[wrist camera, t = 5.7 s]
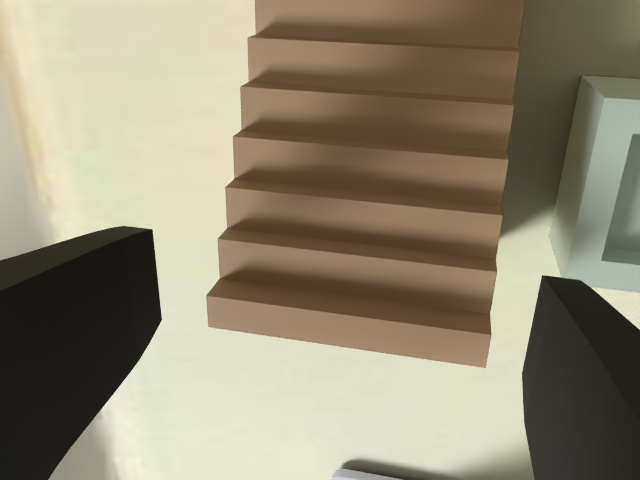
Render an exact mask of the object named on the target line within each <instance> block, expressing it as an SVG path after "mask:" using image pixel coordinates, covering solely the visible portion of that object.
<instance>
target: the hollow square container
mask: <svg viewBox="0 0 640 480" xmlns="http://www.w3.org/2000/svg"><path fill="white" fill-rule="evenodd" d="M549 238H550V241H551V245H552V248H553V251H554V255H555V258H556V261H557V265H558V268H559V271H560V275H561V278H569V279H577V280H581V281H582V282H584V283H585V284H587V285H588V286H589V287H596V288H604V289H613V290H621V291H629V292H638V293H640V79H635V78H618V77H601V76H583V75H582V76H581V81H580V86H579V91H578V96H577V101H576V106H575V110H574V115H573V120H572V125H571V130H570V135H569V140H568V145H567V150H566V155H565V160H564V165H563V169H562V174H561V179H560V184H559V189H558V194H557V199H556V204H555V209H554V214H553V219H552V224H551V229H550V233H549Z"/></svg>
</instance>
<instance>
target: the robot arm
mask: <svg viewBox="0 0 640 480" xmlns="http://www.w3.org/2000/svg"><path fill="white" fill-rule="evenodd" d="M161 320H162V318H161V308H160V298H159V289H158V279H157V270H156V260H155V250H154V241H153V231H152V229H144V228H136V227H127V226H121V227H114V228H109V229H105V230H101V231H97V232H93V233H89V234H86V235H83V236H79V237H76V238H73V239H69V240H66V241H63V242H60V243H56V244H53V245H50V246H47V247H44V248H41V249H38V250H34V251H31V252H28V253H25V254H21V255H19V256H15V257H11V258H8V259H4V260H1V261H0V480H48V479H49V478H50V476H51V474H52V473H53V471H54V470H55V468H56V467H57V465H58V464H59V463H60V461H61V460H62V459H63V457H64V456H65V454H66V453H67V452H68V450H69V449H70V448H71V446H72V445H73V444H74V442H75V441H76V440H77V439H78V437H79V436H80V435H81V434H82V432H83V431H84V430H85V429H86V427H87V426H88V425H89V424H90V422H91V421H92V420H93V419H94V417H95V416H96V415H97V414H98V412H99V411H100V410H101V409H102V407H103V406H104V405H105V404H106V402H107V401H108V400H109V399H110V397H111V396H112V395H113V394H114V392H115V391H116V390H117V388H118V387H119V386H120V385H121V383H122V382H123V381H124V379H125V378H126V377H127V376H128V374H129V373H130V372H131V370H132V369H133V368H134V366H135V365H136V364H137V362H138V361H139V360H140V358H141V356H142V355H143V353H144V351H145V349H146V348H147V346H148V344H149V343H150V341H151V339H152V337H153V335H154V333H155V332H156V330H157V328H158V326H159V324H160V322H161ZM522 381H523V406H524V423H525V429H526V435H527V440H528V445H529V451H530V456H531V462H532V467H533V472H534V478H535V480H640V330H639V329H638V328H637V327H636V326H634V325H633V324H632V323H631V322H630V321H629V320H627V319H626V318H625V317H624V316H623V315H622V314H620V313H619V312H618V311H617V310H616V309H615V308H614V307H613V306H611V305H610V304H609V303H608V302H607V301H606V300H605V299H603V298H602V297H601V296H600V295H599V294H598V293H596V292H595V291H594V290H593V289H592V288H590V287H589V286H588V285H587V284H585V283H584V282H582V281H581V280H577V279H569V278H560V277H552V276H543V275H542V279H541V284H540V289H539V293H538V298H537V303H536V308H535V313H534V318H533V323H532V328H531V333H530V337H529V342H528V347H527V352H526V357H525V362H524V367H523V372H522ZM331 480H402V479H397V478H392V477H386V476H381V475H376V474H370V473H365V472H359V471H354V470H349V469H339V470H336V471H335V472H334V473H333V475H332V479H331Z"/></svg>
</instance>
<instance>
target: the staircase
mask: <svg viewBox="0 0 640 480" xmlns="http://www.w3.org/2000/svg"><path fill="white" fill-rule="evenodd" d="M524 6H525V0H255V19H256V35H254V36H251V37H248V69H249V82H248V83H246V84H245V85H243V86H241V87H240V91H241V122H242V130H241V131H240V132H239V133H237V134H236V135H235V136H233V152H234V177H235V179H234V180H233V181H232V182H231V183H230V184H228V185H227V186H226V187H225V190H226V212H227V229H226V230H225V231H224V233H223V234H222V235H221V236H220V237H219V238H218V254H219V273H220V279H219V280H218V282H217V283H216V284H215V285H214V287H213V288H212V289H211V291H210V292H209V293H208V294H207V296H206V298H207V313H208V327H212V328H219V329H225V330H232V331H239V332H246V333H252V334H259V335H266V336H273V337H280V338H286V339H293V340H300V341H307V342H313V343H320V344H327V345H334V346H340V347H347V348H354V349H361V350H368V351H374V352H381V353H388V354H395V355H401V356H408V357H415V358H422V359H428V360H435V361H442V362H449V363H456V364H462V365H469V366H476V367H483V368H486V363H487V357H488V351H489V346H490V340H491V323H490V311H491V305H492V299H493V293H494V287H495V281H496V275H497V267H496V254H497V248H498V242H499V236H500V230H501V224H502V218H503V213H502V206H501V204H502V198H503V192H504V186H505V180H506V174H507V167H508V161H509V159H508V154H507V149H508V142H509V136H510V130H511V124H512V117H513V111H514V103H513V100H512V99H513V93H514V87H515V80H516V74H517V68H518V61H519V55H520V51H519V49H518V44H519V38H520V31H521V25H522V19H523V12H524Z"/></svg>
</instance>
